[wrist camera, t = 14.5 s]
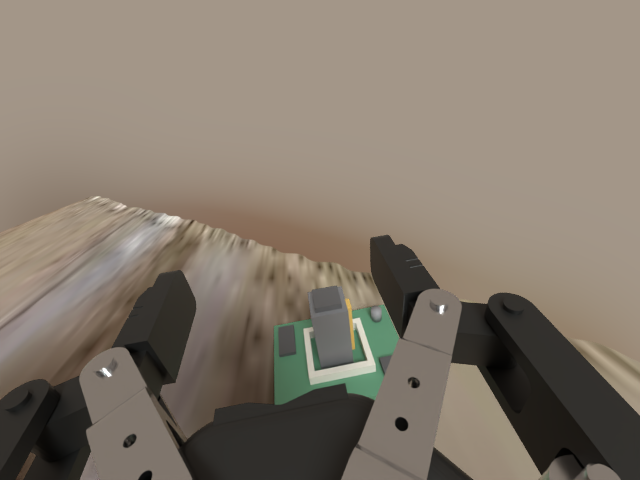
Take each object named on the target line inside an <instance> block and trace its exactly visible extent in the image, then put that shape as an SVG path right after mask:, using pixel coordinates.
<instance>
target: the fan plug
mask: <svg viewBox="0 0 640 480" xmlns="http://www.w3.org/2000/svg"><path fill="white" fill-rule="evenodd" d="M308 299H309V307H310V314H311V321H312V325H313V330H314V335H315V340H316V345H317V350H318V355H319V360H320V365H321V369H327V368H332V367H337V366H342V365H347V364H352V363H354V362H353V352H352V350H353V349H355V341H354V331H353V320H352V309H351V305H350V301H349V299H345V298H344V294H343V290H342V287H341V286H340V287H337V286H331V287H326V288H320V289H315V290H312V292H308Z"/></svg>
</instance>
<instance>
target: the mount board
mask: <svg viewBox="0 0 640 480" xmlns="http://www.w3.org/2000/svg"><path fill="white" fill-rule="evenodd" d="M352 320H353V331H354V341H355V349H353V350H352V352H353V362H354V363H352V364H347V365H342V366H337V367H332V368H327V369H321V365H320V360H319V355H318V350H317V345H316V340H315V335H314V330H313V325H312V321H311V319H308V320H303V321H298V322H292V323H287V324H282V325H277V326H274V401H275V405H281V404H284V403H287V402H289V401H291V400H293V399H295V398H297V397H299V396H301V395H303V394H305V393H307V392H309V391H312V390H314V389H318V388H323V387H328V386H333V385H338V384H343V383H345V384H346V389H347V393H354V394H359V395H363V396H366V397H369V398H371V399H373V400H375V399H376V396H377V394H378V391H379V388H380V386H381V383H382V381H383V378H384V375H385V373H386V370H387V368H388V365H389V362H390V360H391V357H392V355H393V352H394V349H395V347H396V344H397V342H398V340H399V337H398V335H397V333H396V331H395V328H394V326H393V324H392V322H391V320H390V317H389V315H388V313H387V311H386V309H385V306H384V305H380V306H373V307H369V308H364V309H359V310H354V311H352Z"/></svg>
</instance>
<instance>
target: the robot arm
mask: <svg viewBox="0 0 640 480" xmlns="http://www.w3.org/2000/svg"><path fill="white" fill-rule="evenodd" d="M370 262H371V273H372V277H373V280H374V282H375V284H376V286H377V288H378V291H379V293H380V295H381V297H382V299H383V302H384V304H385V306H386V308H387V310H388V312H389V315H390V317H391V319H392V321H393V323H394V326H395V328H396V330H397V332H398V334H399V336H400V338H399V340H398V342H397V344H396V347H395V349H394V352H393V355H392V357H391V360H390V362H389V365H388V368H387V370H386V373H385V375H384V378H383V381H382V383H381V386H380V388H379V391H378V394H377V396H376V399H375V400H373V399H371V398H369V397H366V396H363V395H359V394H354V393H347V389H346V384H345V383H343V384H338V385H333V386H328V387H323V388H318V389H314V390H312V391H309V392H307V393H305V394H303V395H301V396H299V397H297V398H295V399H293V400H291V401H289V402H287V403H284V404H281V405H275V404H260V403H244V404H239V405H234V406H229V407H224V408H219V409H215V415H214V421H213V422H211V423H209V424H207V425H206V426H204V427H202V428H201V429H200V430H198V431H197V432H196V433H194V434H193V435H192V436H191V437H190V438H189V439H188V440H187V439H186V437H185V435H184V434H183V432H182V431H181V429H180V427H179V425H178V423H177V422H176V420H175V418H174V416H173V415H172V413H171V411H170V409H169V408H168V406H167V404H166V402H165V400H164V399H163V397H162V396H161V394H160V391H161V388H162V385H165V384H170V383H175V382H176V378H177V375H178V371H179V368H180V364H181V361H182V357H183V354H184V351H185V347H186V344H187V340H188V337H189V333H190V330H191V326H192V323H193V319H194V316H195V312H196V301H195V297H194V295H193V293H192V291H191V288H190V286H189V284H188V282H187V280H186V278H185V276H184V274H183V272H182V271H181V270H177V271H171V272H166V273H161V274H159V276H158V278H157V280H156V282H155V284H154V286H153V287H150V288H148V289H147V290H146V291H145V292H144V293H143V294H142V295H141V296H140V297H139V298H138V300H137V301H136V303H135V305H134V307H133V310H132V311H131V313H130V314H129V318H127V320H126V322H125V324H124V326H123V327H122V329H121V331H120V333H119V335H118V337H117V339H116V340H115V342H114V344H113V346H112V348H111V349H108V350H106V351H104V352H102V353H100V354H98V355H97V356H95V357H94V358H93V359H92V360H91V361H90V362H88V364H87V365H86V366H85V367H84V368H83V370H82V372H81V374H80V376H77V377H75V378H73V379H70V380H68V381H66V382H63V383H61V384H59V385H57V386H54V387H53V386H51V385H50V384H49V383H48V382H47V381H46V380H42V379H38V380H33V381H30V382H27V383H25V384H23V385H21V386H19V387H17V388H15V389H14V390H12V391H11V392H10V393H8V394H7V395H6V396H5V397H3V398H2V399H1V400H0V480H15V479H16V477H17V475H18V474H19V472H20V470H21V468H22V466H23V465H24V463H25V461H26V459H27V457H28V455H29V454H30V452H32V453H34V454H35V455H36V457H35V459H34V461H33V463H32V465H31V467H30V468H29V470H28V472H27V474H26V476H25V478H24V480H80V477H81V475H82V472H83V470H84V467H85V465H86V462H87V460H88V457H89V455H90V452H92V456H93V460H94V463H95V467H96V470H97V474H98V477H99V480H473V479H472V478H471V477H469V476H468V475H467V474H466V473H464V472H463V471H462V470H461V469H460V468H458V467H457V466H456V465H455V464H454V463H452V462H451V461H450V460H449V459H448V458H446V457H445V456H444V455H443V454H442V453H440V452H439V451H438V450H437V449H436V448H434V442H435V437H436V432H437V428H438V423H439V418H440V413H441V408H442V403H443V398H444V394H445V389H446V384H447V379H448V374H449V369H450V364H451V363H459V364H468V365H477V367H478V368H479V370H480V372H481V374H482V375H483V377H484V379H485V380H486V382H487V384H488V385H489V387H490V389H491V390H492V392H493V394H494V396H495V397H496V399H497V401H498V402H499V404H500V406H501V407H502V409H503V411H504V413H505V414H506V416H507V418H508V419H509V421H510V423H511V424H512V426H513V428H514V429H515V431H516V433H517V435H518V436H519V438H520V440H521V441H522V443H523V445H524V446H525V448H526V450H527V451H528V453H529V455H530V457H531V458H532V460H533V462H534V463H535V465H536V467H537V468H538V470H539V472H540V474H541V475H542V476H541V477H540V478H539V480H640V415H639V414H638V413H637V412H636V411H635V410H634V409H633V408H632V407H631V406H630V405H629V404H628V403H627V402H626V401H625V400H624V399H623V398H622V397H621V396H620V395H619V393H618V392H617V391H616V390H615V389H614V388H613V387H612V386H611V385H610V384H609V383H608V382H607V381H606V380H605V379H604V378H603V377H602V376H601V375H600V374H599V373H598V372H597V370H596V369H595V368H594V367H593V366H592V365H591V364H590V363H589V362H588V361H587V360H586V359H585V358H584V357H583V356H582V355H581V354H580V353H579V352H578V351H577V350H576V348H575V347H574V346H573V345H572V344H571V343H570V342H569V341H568V340H567V339H566V338H565V337H564V336H563V335H562V334H561V333H560V332H559V331H558V330H557V329H556V328H555V327H554V325H552V323H551V322H550V321H549V320H548V319H547V318H546V317H545V316H544V315H543V314H542V313H541V312H540V311H539V310H538V309H537V308H536V307H535V306H534V305H533V304H532V303H531V302H530V301H528V300H527V299H525V298H523V297H521V296H519V295H515V294H511V293H497V294H494V295H493V296H491V297H490V298H489V300H488V303H487V304H481V303H467V302H461V301H460V300H459V299H458V298H457V297H456V296H455V295H454V294H452V293H450V292H448V291H445V290H442V289H440V288H439V287H438V285H437V284H436V282H435V281H434V280H433V278H432V277H431V276H430V274H429V273H428V271H427V270H426V269H425V267H424V266H422V263H421V262H420V260H418V258H417V256H416V255H415V253H414V252H413V251H412V250H411V249H409V248H408V247H406V246H405V245H403V244H399V245H395V244H394V242H393V241H392V239H391V237H390V236H389V235H384V236H378V237H373V238H371V239H370Z"/></svg>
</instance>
